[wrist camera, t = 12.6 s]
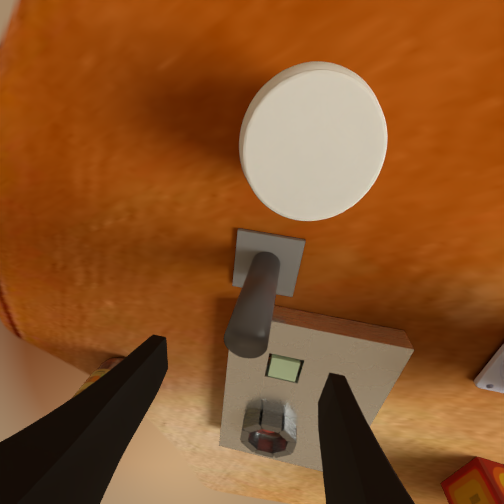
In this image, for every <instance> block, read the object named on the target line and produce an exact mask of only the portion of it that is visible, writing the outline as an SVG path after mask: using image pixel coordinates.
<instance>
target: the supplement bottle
mask: <svg viewBox="0 0 504 504" xmlns="http://www.w3.org/2000/svg"><path fill="white" fill-rule="evenodd" d="M386 149H387V127H386V121H385V117H384V114H383V112H382V109H381V107H380V105H379V102H378V100H377V98H376V96H375V94H374V93H373V91H372V90H371V88H370V87H369V86H368V84H367V83H366V82H365V81H364V80H363V79H362V78H361V77H360V76H358V75H357V74H355V73H354V72H353V71H351V70H349V69H347V68H345V67H342V66H340V65H337V64H333V63H329V62H318V61H316V62H307V63H302V64H298V65H295V66H292V67H290V68H288V69H286V70H283V71H282V72H280V73H279V74H277V75H276V76H274V77H273V78H272V79H271V80H269V81H268V82H267V83H266V84H265V85H264V86H263V87H262V88H261V89H260V90H259V91H258V93H257V94H256V95H255V97H254V98H253V100H252V102H251V103H250V105H249V107H248V109H247V111H246V113H245V116H244V119H243V122H242V125H241V130H240V137H239V155H240V161H241V166H242V169H243V172H244V175H245V177H246V179H247V181H248V183H249V185H250V186H251V188H252V190H253V191H254V193H255V194H256V196H257V197H258V198H259V199H260V200H261V202H262V203H263V204H265V205H266V206H267V207H268V208H270V209H271V210H272V211H274V212H276V213H277V214H279V215H282V216H284V217H287V218H290V219H294V220H300V221H316V220H322V219H327V218H330V217H333V216H335V215H338V214H340V213H342V212H344V211H345V210H347V209H348V208H350V207H351V206H353V205H354V204H356V203H357V202H358V201H359V200H360V199H361V198H362V197H363V196H364V195H365V194H366V193H367V192H368V190H369V189H370V188H371V186H372V185H373V183H374V182H375V180H376V178H377V177H378V175H379V173H380V170H381V168H382V165H383V162H384V159H385V154H386Z"/></svg>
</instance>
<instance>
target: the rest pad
mask: <svg viewBox="0 0 504 504" xmlns="http://www.w3.org/2000/svg"><path fill="white" fill-rule="evenodd" d="M304 245H305V239H300V238H294V237H288V236H282V235H276V234H270V233H264V232H258V231H253V230H247V229H241V228H239V229H238V232H237V243H236V253H235V264H234V274H233V285H232V286H237V287H243V284H244V281H245V279H246V276H247V273H248V271H249V268H250V266H251V263H252V260H253V258H254V256H255V255H256V254H258V253H260V252H271V253H273V254H274V255H276V256H277V257H278V259H279V261H280V271H279V278H278V284H277V290H276V294H279V295H284V296H290V297H292V296H293V292H294V288H295V284H296V279H297V275H298V271H299V267H300V262H301V258H302V254H303V249H304Z"/></svg>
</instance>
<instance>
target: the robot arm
mask: <svg viewBox="0 0 504 504" xmlns="http://www.w3.org/2000/svg"><path fill="white" fill-rule="evenodd" d="M167 370H168V360H167V343H166V337H162V336H157V335H152V336H150V337H149V338H148V339H147V340H146V341H145V342H143V343H142V344H141V345H140V346H139V347H138V348H136V349H135V350H134V351H133V352H132V353H130V354H129V355H128V356H127V357H126V358H124V359H123V360H122V361H121V362H119V363H118V364H117V365H116V366H114V367H113V368H112V369H111V370H109V371H108V372H107V373H106V374H104V375H103V376H102V377H100V378H99V379H98V380H96V381H95V382H94V383H92V384H91V385H90V386H88V387H87V388H86V389H84V390H83V391H82V392H80V393H79V394H77V395H76V396H74V397H73V398H72V399H70V400H69V401H67V402H66V403H64V404H63V405H61V406H60V407H58V408H57V409H55V410H54V411H52V412H50V413H49V414H47V415H46V416H44V417H42V418H41V419H39V420H38V421H36V422H34V423H33V424H31V425H29V426H28V427H26V428H24V429H23V430H21V431H19V432H18V433H16V434H14V435H12V436H11V437H9V438H7V439H5V440H3V441H2V442H0V504H100V502H101V500H102V498H103V495H104V493H105V491H106V489H107V486H108V485H109V483H110V480H111V478H112V476H113V474H114V472H115V470H116V467H117V465H118V463H119V461H120V459H121V457H122V455H123V453H124V451H125V450H126V448H127V446H128V444H129V442H130V440H131V439H132V437H133V435H134V433H135V432H136V430H137V428H138V426H139V425H140V423H141V421H142V419H143V418H144V416H145V414H146V412H147V411H148V409H149V407H150V405H151V403H152V402H153V400H154V398H155V396H156V394H157V392H158V390H159V388H160V386H161V384H162V381H163V379H164V377H165V374H166V372H167ZM474 383H475V385H476V386H477V387H478V388H482V389H487V390H491V391H496V392H501V393H504V344H503V345H502V346H501V347H500V349H499V350H498V351H497V352H496V354H495V355H494V356H493V357H492V359H491V360H490V361H489V362H488V364H487V365H486V366H485V367H484V369H483V370H482V371H481V372H480V374H479V375H478V376H477V377H476V379H475V380H474ZM318 432H319V442H320V451H321V460H322V469H323V478H324V487H325V495H326V504H415V503H414V502H413V500H412V498H411V497H410V495H409V494H408V492H407V491H406V489H405V488H404V486H403V484H402V483H401V481H400V479H399V478H398V476H397V474H396V473H395V471H394V470H393V468H392V466H391V464H390V463H389V461H388V459H387V457H386V456H385V454H384V452H383V451H382V449H381V447H380V445H379V443H378V442H377V440H376V438H375V436H374V434H373V432H372V430H371V428H370V427H369V425H368V423H367V421H366V419H365V417H364V415H363V413H362V411H361V409H360V407H359V405H358V403H357V401H356V399H355V396H354V394H353V392H352V390H351V388H350V386H349V384H348V381H347V379H346V377H345V376H344V375H339V374H335V373H330V372H329V375H328V377H327V380H326V383H325V385H324V388H323V390H322V393H321V396H320V398H319V401H318Z"/></svg>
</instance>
